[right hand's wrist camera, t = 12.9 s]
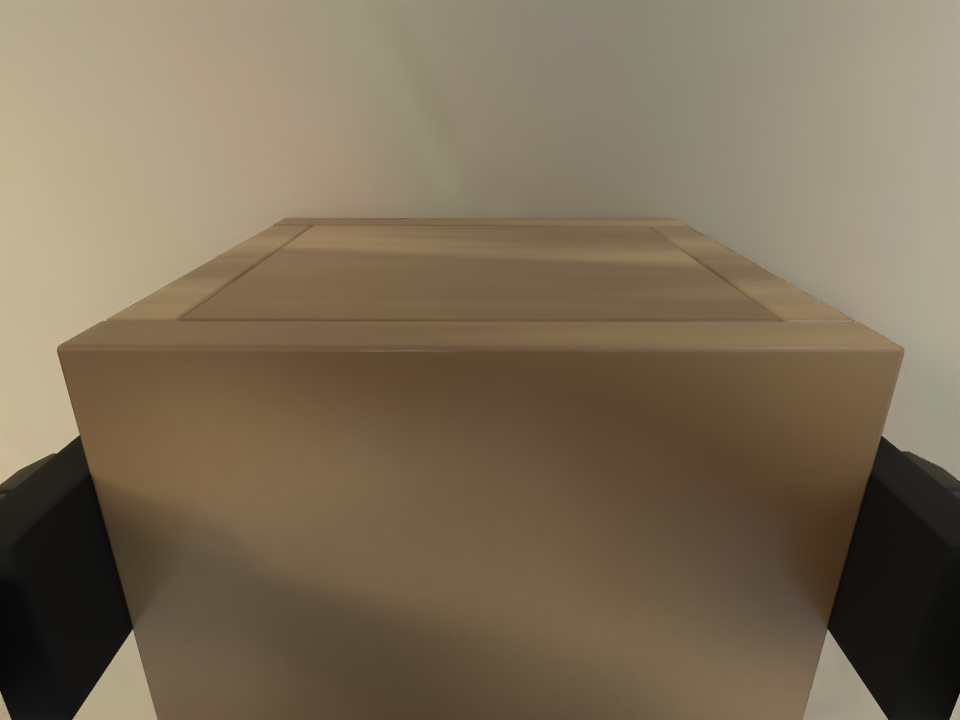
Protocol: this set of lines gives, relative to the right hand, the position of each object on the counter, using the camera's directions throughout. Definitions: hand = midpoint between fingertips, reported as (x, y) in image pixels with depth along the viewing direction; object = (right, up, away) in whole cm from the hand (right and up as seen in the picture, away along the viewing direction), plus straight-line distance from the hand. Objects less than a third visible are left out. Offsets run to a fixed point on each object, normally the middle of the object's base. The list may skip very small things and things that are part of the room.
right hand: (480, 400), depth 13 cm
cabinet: (0, -3, +6) cm, 7 cm away
